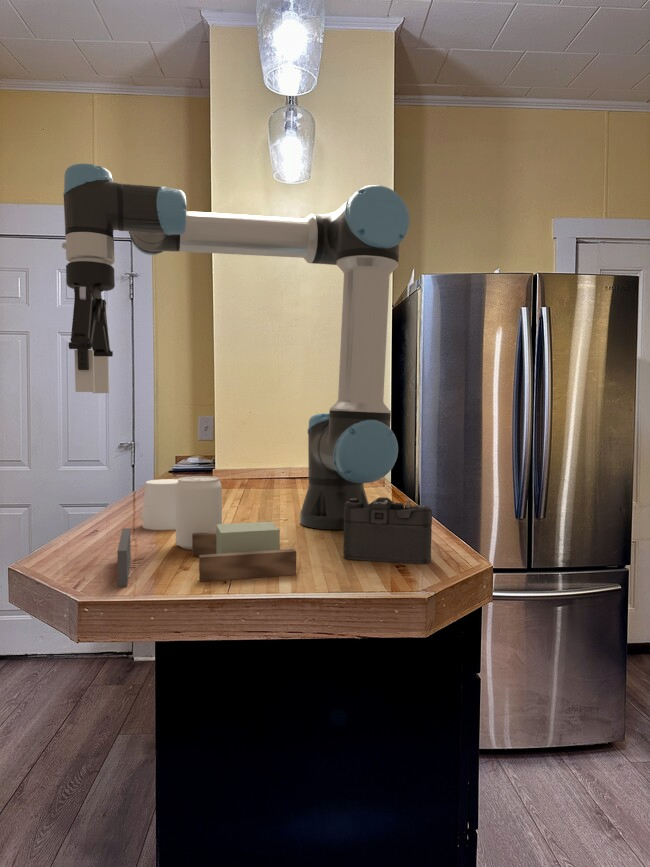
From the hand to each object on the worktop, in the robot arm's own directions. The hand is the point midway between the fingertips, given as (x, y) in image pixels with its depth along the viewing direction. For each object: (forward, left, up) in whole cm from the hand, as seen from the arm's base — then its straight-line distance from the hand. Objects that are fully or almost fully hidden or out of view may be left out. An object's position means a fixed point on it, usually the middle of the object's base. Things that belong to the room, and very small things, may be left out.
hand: (93, 392), depth 104 cm
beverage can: (-17, -1, -27) cm, 32 cm away
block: (-24, +14, -27) cm, 39 cm away
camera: (-47, +15, -27) cm, 56 cm away
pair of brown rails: (-23, +14, -27) cm, 38 cm away
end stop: (-5, +14, -27) cm, 31 cm away
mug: (-13, -20, -27) cm, 36 cm away
